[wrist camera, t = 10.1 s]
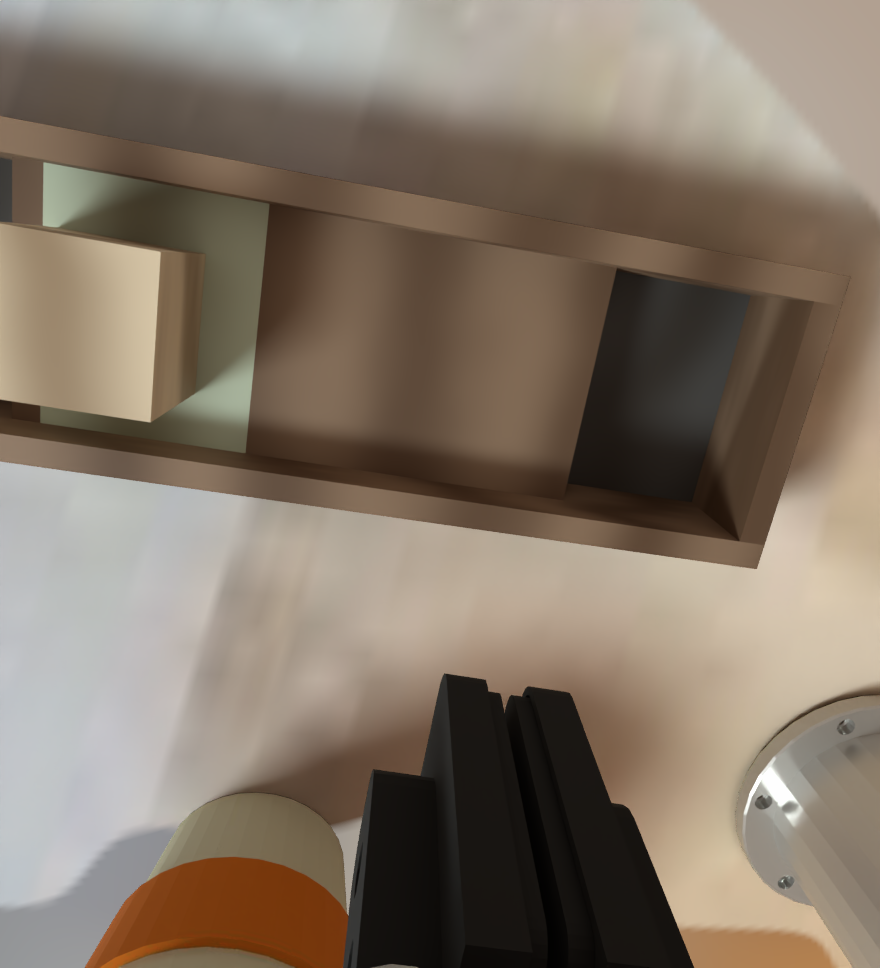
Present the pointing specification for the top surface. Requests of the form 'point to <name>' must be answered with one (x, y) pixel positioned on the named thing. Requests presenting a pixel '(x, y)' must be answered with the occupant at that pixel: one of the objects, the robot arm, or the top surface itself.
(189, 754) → the top surface
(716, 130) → the top surface
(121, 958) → the reusable coffee cup
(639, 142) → the top surface
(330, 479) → the tray
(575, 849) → the robot arm
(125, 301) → the maple block
